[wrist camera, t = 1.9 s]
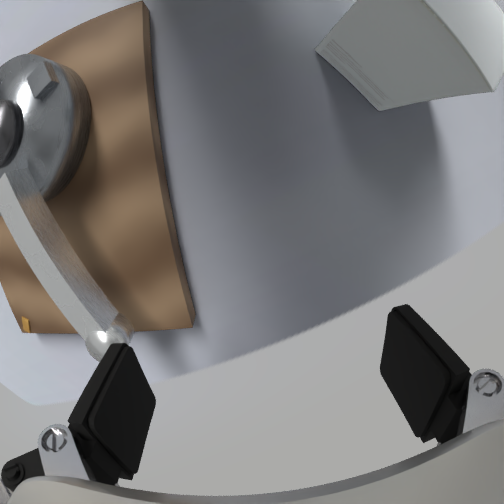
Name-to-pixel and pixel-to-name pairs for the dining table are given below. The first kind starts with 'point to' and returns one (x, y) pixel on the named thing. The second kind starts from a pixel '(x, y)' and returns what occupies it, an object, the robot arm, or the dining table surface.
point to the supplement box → (418, 49)
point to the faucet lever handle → (50, 189)
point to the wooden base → (111, 188)
